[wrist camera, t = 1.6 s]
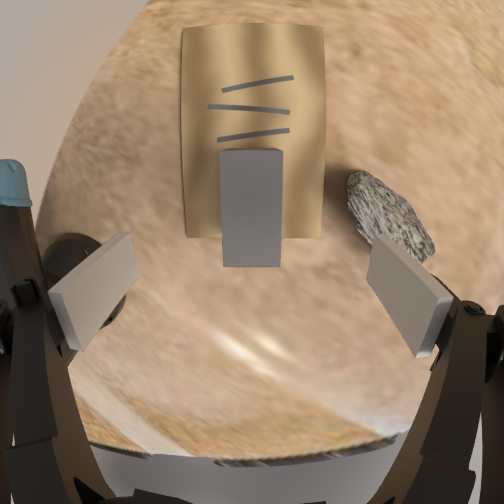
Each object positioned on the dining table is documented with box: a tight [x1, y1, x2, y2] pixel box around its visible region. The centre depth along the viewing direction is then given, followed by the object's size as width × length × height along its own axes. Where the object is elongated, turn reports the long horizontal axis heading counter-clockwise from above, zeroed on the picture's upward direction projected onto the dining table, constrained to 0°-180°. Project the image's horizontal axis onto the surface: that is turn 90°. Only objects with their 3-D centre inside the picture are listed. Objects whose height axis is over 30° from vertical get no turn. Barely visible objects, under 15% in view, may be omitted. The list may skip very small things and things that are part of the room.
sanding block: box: [219, 148, 283, 267], centre depth 27 cm, size 10×5×9 cm, turn 0°
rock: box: [347, 171, 435, 265], centre depth 29 cm, size 16×8×10 cm, turn 40°
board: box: [181, 23, 326, 238], centre depth 29 cm, size 16×26×1 cm, turn 0°
